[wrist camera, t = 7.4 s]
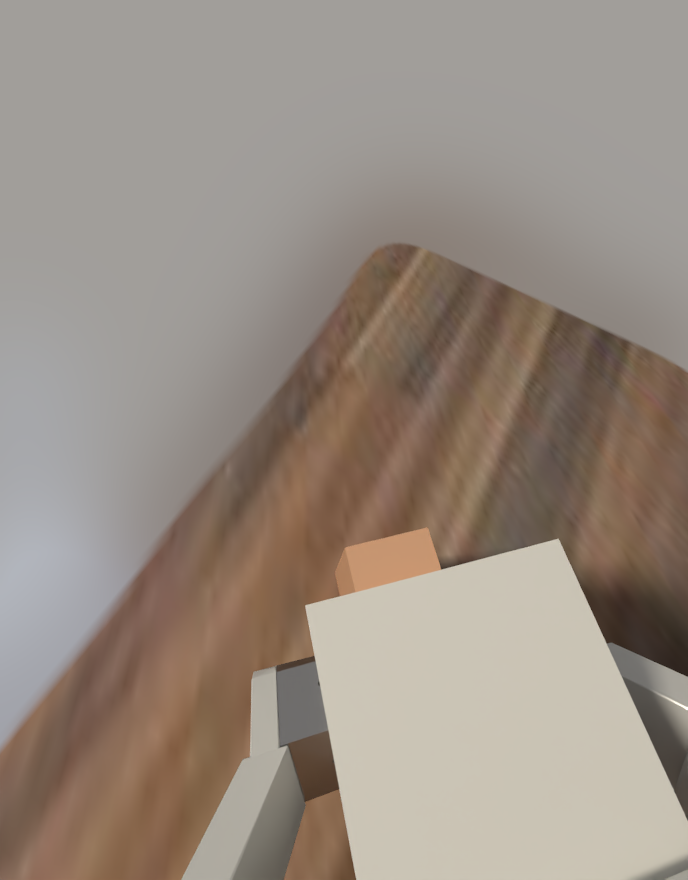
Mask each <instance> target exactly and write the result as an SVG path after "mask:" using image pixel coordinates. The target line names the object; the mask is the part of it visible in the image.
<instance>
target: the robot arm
mask: <svg viewBox="0 0 688 880" xmlns="http://www.w3.org/2000/svg"><path fill="white" fill-rule="evenodd" d="M607 646H608V648H609V650H610V652H611V654H612V657H613V659H614V661H615V663H616V665H617V668H618V670H619V672H620V674H621V676H622V678H623V681H624V683H625V685H626V687H627V689H628V692H629V694H630V696H631V698H632V700H633V702H634V705H635V707H636V709H637V711H638V713H639V716H640V718H641V720H642V722H643V724H644V727H645V729H646V731H647V733H648V735H649V737H650V740H651V742H652V744H653V746H654V748H655V751H656V753H657V755H658V757H659V759H660V761H661V764H662V766H663V768H664V770H665V772H666V775H667V777H668V779H669V781H670V783H671V785H672V788H673V789H674V792H675V794H676V796H677V799H678V801H679V803H680V805H681V807H682V809H683V812H684V814H685V816H686V818H687V820H688V677H687V676H685V675H683V674H680V673H678V672H676V671H674V670H671V669H669V668H667V667H665V666H663V665H660V664H658V663H656V662H654V661H651V660H649V659H647V658H645V657H643V656H640V655H638V654H636V653H634V652H631V651H629V650H627V649H625V648H623V647H620V646H618V645H616V644H614V643H607ZM338 789H339V784H338V779H337V773H336V768H335V763H334V757H333V752H332V747H331V741H330V736H329V730H328V725H327V720H326V714H325V709H324V704H323V698H322V693H321V688H320V682H319V677H318V671H317V666H316V661H315V656H312V657H308V658H304V659H301V660H297V661H293V662H289V663H285V664H281V665H277V666H274V667H270V668H266V669H263V670H259V671H255V672H253V677H252V688H251V740H250V757H248V758H245V759H243V760H242V762H241V764H240V766H239V768H238V770H237V771H236V773H235V775H234V777H233V779H232V781H231V783H230V785H229V787H228V789H227V791H226V793H225V795H224V797H223V799H222V801H221V803H220V805H219V807H218V809H217V811H216V813H215V815H214V817H213V819H212V821H211V822H210V824H209V826H208V828H207V830H206V832H205V834H204V836H203V838H202V840H201V842H200V844H199V846H198V848H197V850H196V852H195V854H194V856H193V858H192V860H191V862H190V864H189V866H188V868H187V870H186V872H185V873H184V875H183V877H182V879H181V880H284V876H285V873H286V870H287V866H288V863H289V860H290V856H291V853H292V849H293V846H294V843H295V839H296V836H297V833H298V829H299V826H300V823H301V819H302V816H303V812H304V809H305V806H306V805H305V802H306V801H309V800H311V799H314V798H317V797H319V796H322V795H324V794H327V793H330V792H332V791H335V790H338ZM664 880H688V869H687V870H685V871H683V872H680V873H678V874H676V875H673V876H671V877H669V878H667V879H664Z"/></svg>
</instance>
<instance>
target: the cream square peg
mask: <svg viewBox="0 0 688 880" xmlns="http://www.w3.org/2000/svg"><path fill="white" fill-rule="evenodd" d="M335 576H336V580H337V585H338V589H339V594H340V597H336V598H332V599H328V600H325V601H321V602H317V603H313V604H309V605H306V606H305V607H306V612H307V618H308V623H309V629H310V634H311V639H312V645H313V650H314V655H315V661H316V666H317V671H318V677H319V682H320V688H321V693H322V698H323V704H324V709H325V714H326V720H327V725H328V730H329V736H330V741H331V747H332V752H333V757H334V763H335V768H336V773H337V779H338V784H339V789H340V795H341V800H342V806H343V811H344V816H345V822H346V827H347V832H348V838H349V843H350V848H351V854H352V859H353V865H354V870H355V875H356V880H664V879H667V878H669V877H671V876H673V875H676V874H678V873H680V872H683V871H685V870H687V869H688V820H687V818H686V816H685V814H684V812H683V809H682V807H681V805H680V803H679V801H678V799H677V796H676V794H675V792H674V790H673V788H672V785H671V783H670V781H669V779H668V777H667V775H666V772H665V770H664V768H663V766H662V764H661V761H660V759H659V757H658V755H657V753H656V751H655V748H654V746H653V744H652V742H651V740H650V737H649V735H648V733H647V731H646V729H645V727H644V724H643V722H642V720H641V718H640V716H639V713H638V711H637V709H636V707H635V705H634V702H633V700H632V698H631V696H630V694H629V692H628V689H627V687H626V685H625V683H624V681H623V678H622V676H621V674H620V672H619V670H618V668H617V665H616V663H615V661H614V659H613V657H612V654H611V652H610V650H609V648H608V646H607V644H606V641H605V639H604V637H603V635H602V633H601V630H600V628H599V626H598V624H597V622H596V620H595V617H594V615H593V613H592V611H591V609H590V606H589V604H588V602H587V600H586V598H585V596H584V593H583V591H582V589H581V587H580V585H579V582H578V580H577V578H576V576H575V574H574V572H573V569H572V567H571V565H570V563H569V561H568V558H567V556H566V554H565V552H564V550H563V547H562V545H561V543H560V541H559V539H556V540H552V541H548V542H545V543H541V544H537V545H533V546H529V547H526V548H522V549H518V550H514V551H510V552H507V553H503V554H499V555H495V556H491V557H488V558H484V559H480V560H476V561H472V562H469V563H465V564H461V565H457V566H453V567H450V568H446V569H442V570H441V567H440V564H439V561H438V558H437V554H436V551H435V548H434V545H433V542H432V539H431V536H430V533H429V530H428V527H427V528H423V529H419V530H415V531H411V532H407V533H403V534H399V535H395V536H391V537H387V538H382V539H378V540H374V541H370V542H366V543H362V544H358V545H354V546H350V547H346V548H345V549H344V551H343V554H342V556H341V559H340V561H339V564H338V566H337V569H336V571H335Z"/></svg>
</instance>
